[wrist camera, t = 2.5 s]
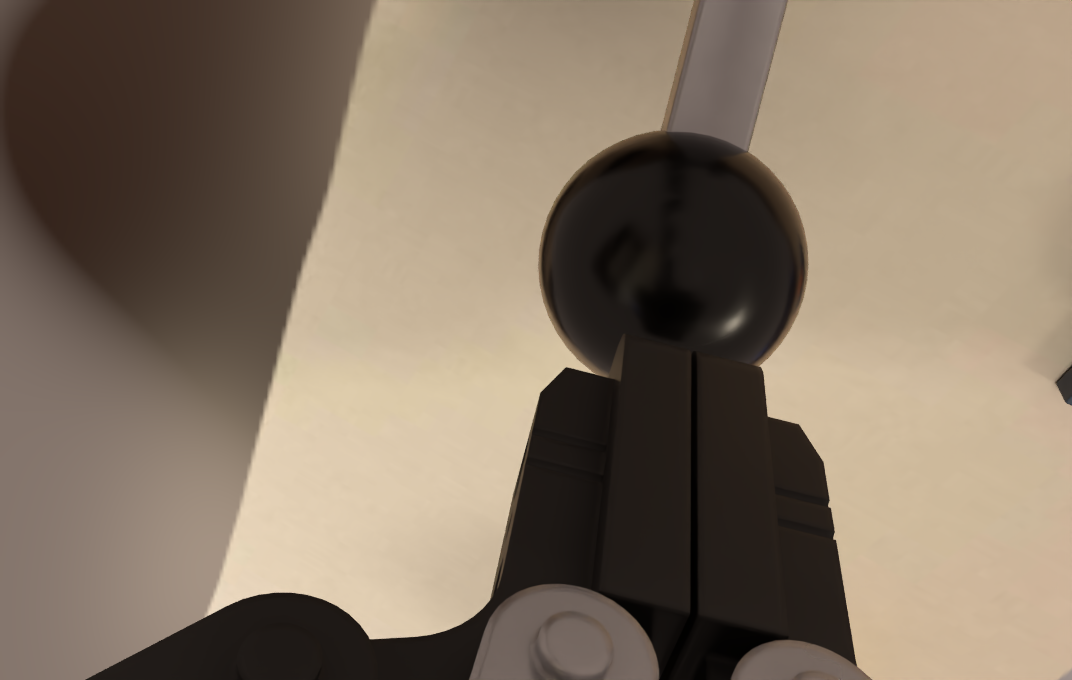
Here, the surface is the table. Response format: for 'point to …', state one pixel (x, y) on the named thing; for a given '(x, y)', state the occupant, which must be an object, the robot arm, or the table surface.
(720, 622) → the robot arm
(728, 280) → the lever
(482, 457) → the table surface
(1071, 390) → the button box
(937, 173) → the table surface
